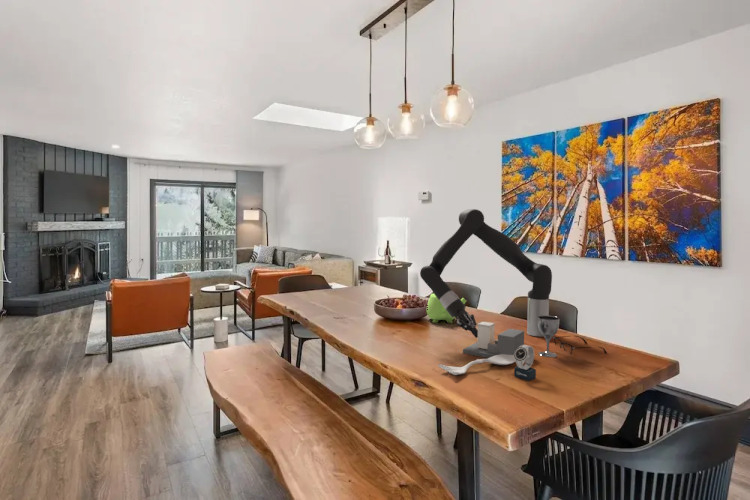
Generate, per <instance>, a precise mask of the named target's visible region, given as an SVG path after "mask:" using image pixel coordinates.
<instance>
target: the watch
mask: <svg viewBox="0 0 750 500" xmlns="http://www.w3.org/2000/svg"><path fill="white" fill-rule="evenodd" d="M514 358H515V362H514V363H516V366H515V367H513V368H514V371H513V373H514V374H513V376H514V378H517V379H521V380H524V381H527V382H530V381H533V380H535V379H537V377H536V376H537V369H536V368H533V367H532V366H533V363H534V360H535V349H534V347H533V346H531V345H527V344H524V345H522V346H520V347H518V348H517V349H516V350H515V351H514Z"/></svg>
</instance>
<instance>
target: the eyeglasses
mask: <svg viewBox="0 0 750 500" xmlns="http://www.w3.org/2000/svg"><path fill="white" fill-rule="evenodd" d="M567 337H570V335H566V336H565V335H564V336H562V338H567ZM575 337H577V338H580V339H581V340H582V341H583V342H584V344H586V345H587V344H588V342H587V341H586V339H585V338H583V337H581V336H578V335H575ZM552 338H553V340H554V345H555V346H557V342H556V339H557V340H558V341H559V342H560V347H559V348H560V349H562V348H563V350H564V351H566V349H565V347H566V346H565V345H568V346H569V347H570V348H571V351H570V354H571V355H572V354H573V350H574V349H586V348H587V349H589V348H590V346H584V347H583V346H582V347H581V346H579V347H578V346H577V347H574V346H573V345H571V344H570V343H567V342H562V341H561V339H560V336H553V337H552ZM599 348H600V349H602V350H603V352H604V354H607V351H606V349H605V348H604V347H602V346H599Z"/></svg>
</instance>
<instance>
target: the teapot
mask: <svg viewBox="0 0 750 500" xmlns="http://www.w3.org/2000/svg"><path fill="white" fill-rule="evenodd" d="M460 300H461V301H462V302H463V304H464V305H466V303H467V302H468V300H466V299H465V298H464V297H462V298H461V299H460ZM427 305H428V306H427ZM427 305H426V315H427V316H428V318H429V319H431V320H432V321H431V323H439V321H441V320H442V321H446V322H447V323H453V322H454V321H453V320H456V318H455V317H451V315H450V314H449V313H448V312H447V310H446V309H445V308H444V307H443V305H442V304H441V302H440V301H439V299H438V298H437V297H436V296H435V294H434V293H430V296H429V299H428V301H427ZM427 307H428V308H427ZM427 309H428V310H427Z"/></svg>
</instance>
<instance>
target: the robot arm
mask: <svg viewBox="0 0 750 500" xmlns="http://www.w3.org/2000/svg"><path fill="white" fill-rule="evenodd" d="M458 222H459V225H460V226H459V228H458V229H457V230H456V231H455V232H454V234H452V236H450V237H449V238H448V239H447V240H446V241H444V243H443V244H442V245H441V246H440V247H439V248H438V250H437V251H436V252H435V254H434V255H433V256H432V259H431V260H432V261H431V263H430V264H429V265H424V266H423V267H421V269H420V271H419V276H420V278H421V279H422V281H423V282H424V284H426V285H427V286H428V288H430V290H431V291H432V294H435V296H436V297H437V298H438V299H439V301H440V302H441V304H442V305H443V307H444V308H445V309H446V310H447V312H448V313H449V314H450V315H451V317H455V320H456V322H455V325H457V326H458V327H460V328H462V329H463V330H464V331H466V332H467V331H469V332H470V333H471V334H472V335H473V337H474V338H475V339H476V338H477V339H478V328H477V324H478V323H477V321H476V319H475V315H474V314H472V313H471V314H469V312H467V310H466V304H463V302H462V301H461V299H460V298H459V296H458V295H457V294H456V293H455V292H454V291H453V290H452V288H451V287H450V286H449V285H448V284H447V283H446V281H444V280H443V278H442V277H441V275H442V273H443V272H444V270H445V268H446V266H447V265H448V264H449V263H450V262H451V260H452V259H453V258H454V256H455V255H456V253H457V252H458V251H459V250H461V249H460V248H462V246H463V245H464V244H465V243H466V241H468V240H469V239H470V237H472V236H473V235H474V236H475V237H477V238H478V239H480V240H481V241H482V242H483V244H485V245H486V246H487V247H488V248H489V249H491V250H492V251H493V252H494V253H495V254H496V255H498V256H499V257H500V258H502V259H503V260H504V261H505V262H507V263H508V264H510V265H512V267H515V268H516V269H517V271H519V272H520V273H521V275H523V276H524V278H526V279H527V280H528V281H529V282H531V283H532V289H530V290H529V291H528V292H527V319H526V322H527V323H526V324H527V325H526V327H527V328H526V334H527V335H529V336H533V337H541V338H542V337H544V336H543V335H542V334H541V332H540V331H539V327H538V316H542V315H548V316H550V314H549V310H550V309H549V308H550V307H549V306H550V295H551V292H552V283H553V281H552V280H553V272H552V269H551V268H550V267H549V266H548V265H546V264H543V263H537V262H535V261H533V260H532V259H531V258H529V257H528V256H526V254H524V253H523V250H522V249H521V248H520V246H519V244H517V243H516V242H515V241H514V240H513V239H512V238H511V237H509V236H508V235H507V234H505V233H503V232H501V231H499V230H497V229H495V228H493V227H491V226H490V225H488V224H487V223H486V222H485V216H484V213H483V212H482V210H479V209H475V208H472V209H471V208H470V209H465V210H463V211H461V212H460V213H459V215H458Z"/></svg>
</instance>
